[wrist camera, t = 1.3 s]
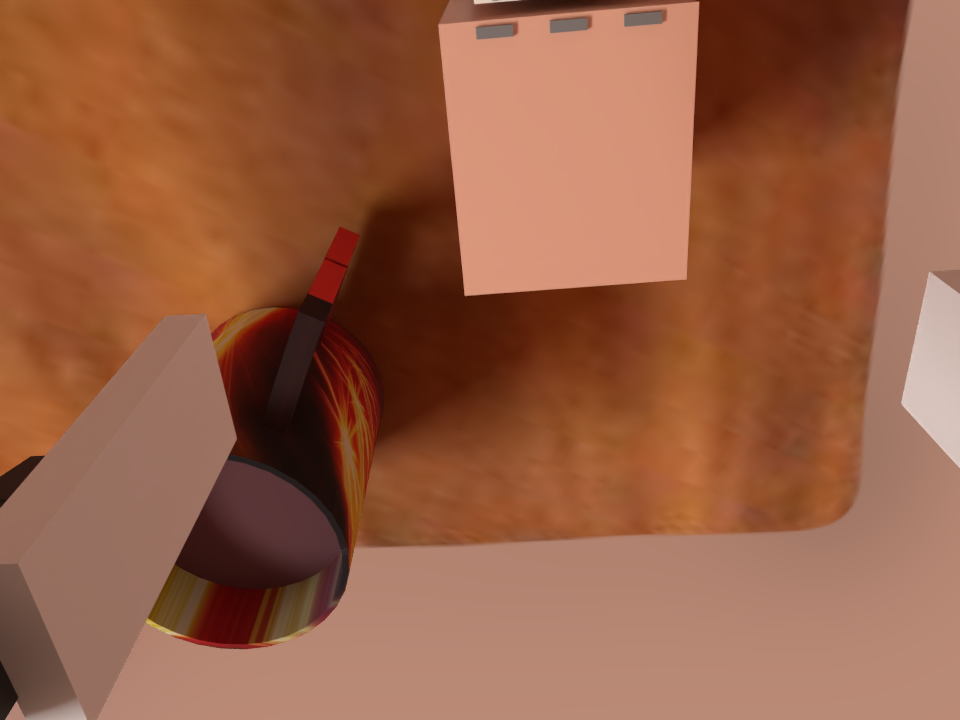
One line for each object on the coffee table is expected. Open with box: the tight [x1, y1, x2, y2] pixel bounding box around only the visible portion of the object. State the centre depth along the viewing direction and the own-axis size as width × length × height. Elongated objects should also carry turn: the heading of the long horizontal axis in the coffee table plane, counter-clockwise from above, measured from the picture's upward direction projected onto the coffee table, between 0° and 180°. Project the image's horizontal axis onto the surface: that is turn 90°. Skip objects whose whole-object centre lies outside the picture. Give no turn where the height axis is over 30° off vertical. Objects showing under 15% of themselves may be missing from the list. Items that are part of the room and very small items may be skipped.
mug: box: [146, 227, 383, 649], centre depth 34 cm, size 10×14×12 cm
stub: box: [438, 0, 699, 296], centre depth 28 cm, size 8×7×11 cm
